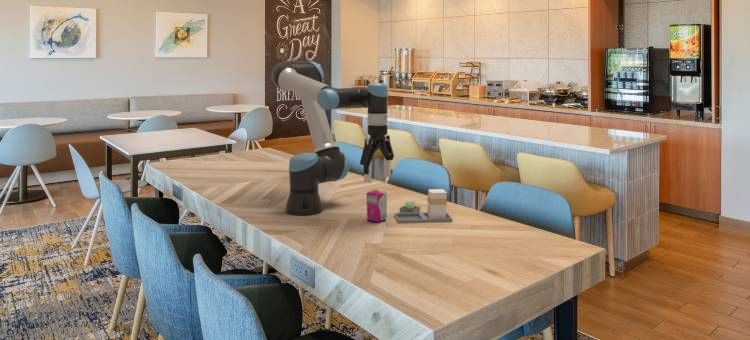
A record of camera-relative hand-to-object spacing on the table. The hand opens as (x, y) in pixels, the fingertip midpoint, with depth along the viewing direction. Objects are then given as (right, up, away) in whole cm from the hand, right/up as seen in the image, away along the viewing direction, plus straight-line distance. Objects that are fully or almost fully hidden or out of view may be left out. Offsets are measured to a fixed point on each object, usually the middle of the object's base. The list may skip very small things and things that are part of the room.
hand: (377, 179), depth 222 cm
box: (+23, -15, +3) cm, 28 cm away
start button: (+13, -14, +12) cm, 22 cm away
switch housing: (+13, -14, +12) cm, 23 cm away
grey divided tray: (+18, -16, +2) cm, 24 cm away
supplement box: (0, -16, +3) cm, 17 cm away
